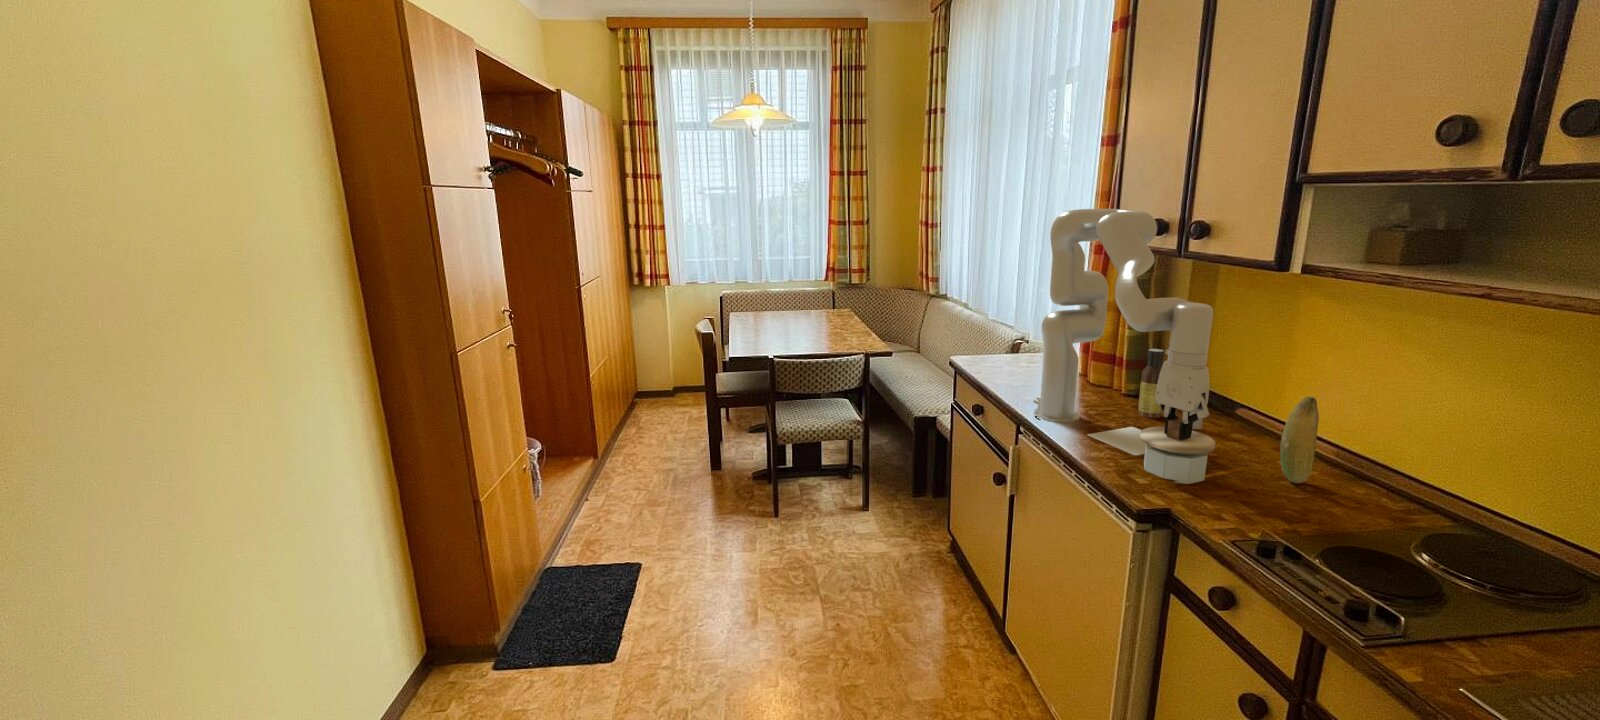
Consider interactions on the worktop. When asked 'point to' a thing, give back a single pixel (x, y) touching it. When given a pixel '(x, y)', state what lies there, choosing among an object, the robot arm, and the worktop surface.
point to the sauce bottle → (1151, 385)
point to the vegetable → (1300, 441)
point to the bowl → (1175, 465)
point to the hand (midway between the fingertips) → (1177, 435)
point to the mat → (1123, 439)
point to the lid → (1177, 439)
